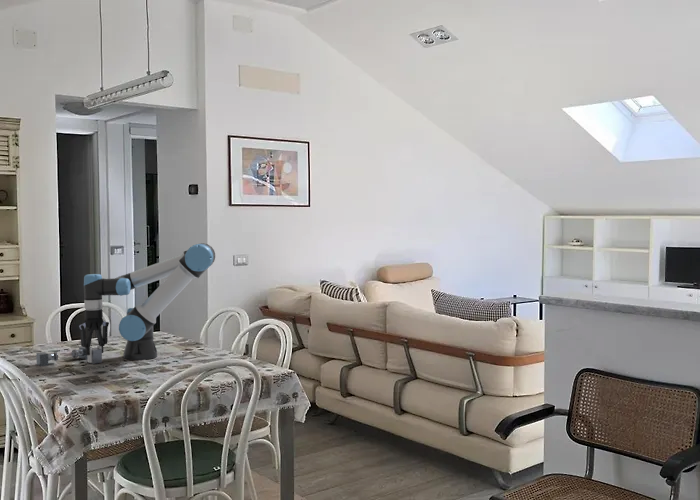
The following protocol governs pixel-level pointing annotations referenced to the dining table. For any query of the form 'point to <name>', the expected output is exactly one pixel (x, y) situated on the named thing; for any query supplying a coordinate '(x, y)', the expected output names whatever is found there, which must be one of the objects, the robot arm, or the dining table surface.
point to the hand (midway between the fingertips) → (94, 361)
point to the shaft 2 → (80, 353)
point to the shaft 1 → (45, 358)
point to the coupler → (96, 356)
